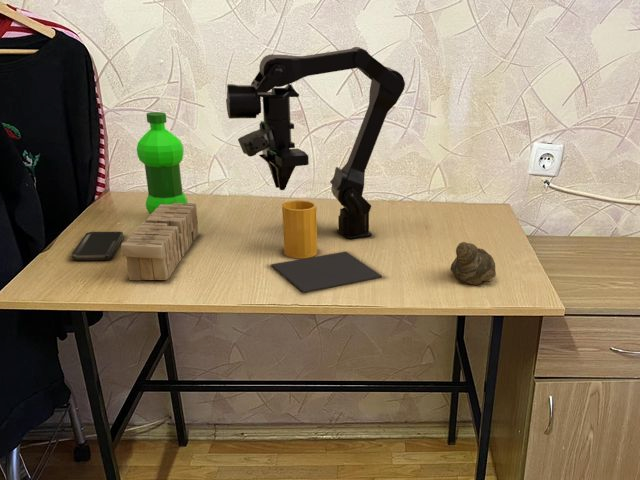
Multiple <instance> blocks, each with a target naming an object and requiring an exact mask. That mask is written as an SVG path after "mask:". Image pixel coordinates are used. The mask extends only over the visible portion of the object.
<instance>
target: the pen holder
mask: <svg viewBox="0 0 640 480" xmlns="http://www.w3.org/2000/svg"><path fill="white" fill-rule="evenodd" d="M281 209H282V213H281V214H282V232H283V233H282V234H283V235H282V236H283V253H284V255H285V256H286V257H288V258H291V259H306V258H312V257H316V255H318V219H317V218H318V217H317V216H318V215H317V204H316V203H315V202H313V201H310V200H302V199H301V200H300V199H296V200H295V199H294V200H288V201H285V202H284V203H282V204H281Z"/></svg>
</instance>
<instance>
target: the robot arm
mask: <svg viewBox="0 0 640 480" xmlns="http://www.w3.org/2000/svg"><path fill="white" fill-rule="evenodd" d="M353 69H358V70H359V71H360V72H361V73H362V74H363V75H365V76H366V77H367V78H368V79H369V80H371V81H370V86H369V98H368V106H367V109H366V111H365V115H364V116H363V120H362V122H361V124H360V127H359V130H358V132H357V135H356V138H355V140H354V143H353V146H352V148H351V151H350V154H349V157H348V160H347V162H346V163H345V164H344V166H343V167H342V168H340V167H338V166H336V167H335V169H334V174H333V177H332V178H331V180H330V181H329V183H330V184H331V187H330V188H331V193H332V196H333V197H334V198H335V199H336V200H337V201H338V202H339V204H340V205H341V206H342V207H343V208H340V209H339V215H338V219H337V220H338V223H337V224H338V229H336V232H337V233H339V234H340V235H342V236H343V237H344V238H346V239H348V240H353V239H359V238H366V237H372V236H373V233H372V232H371V231H370V211H371V209H372V204H370V203H369V202H368V200H367V199H366V198H365V197H364V196H363V192H364V188H365V176H366V175H365V174H366V169H367V167H368V164H369V161H370V159H371V157H372V154H373V152H374V148H375V146H376V144H377V141H378V138H379V136H380V133H381V131H382V128H383V125H384V123H385V120H386V117H387V115H388V113H389V112H390V111H391V109H392V108H393V107H394V106H395V105H396V104H397V103H398V101H399V99H400V97H401V96H402V94H403V92H404V90H405V87H406V81H405V78H404V76H403V75H402V73H400V72H399V71H397V70H396V69H393V68H391V67H387V66H385V65H383V63H381V62H380V61H379V60H377V59H376V58H375V57H373V56H372V55H371V54H370V53H369V52H368V50H366V49H365V48H363V47H360V46H354V47H352V48H347V49H341V50H334V51H328V52H327V51H326V52H320V53H314V54H308V55H289V54H267V55H265V56H263V58H262V59H261V60H260V63H259V71H258V72H257V74H256V75H255V77H254V78H253V80H252V82H251V83H250V85H249V84H248V85H247V84H245V85H243V84H239V85H238V84H233V83H228V84H227V85H226V99H225V105H226V111H227V117H228V119H257V116H260V114H261V113H262V114H263V120H261V121H260V123H259V129H257V130H253V131H251V132H249V133H247V134H244V135H243V136H241V137H238V138H237V141H238V143H239V146H240V147H241V151H242V153H243V154H245V155H246V156H248V157H254V156H257V154H258V153H260V152H262V154H258V156H259V157H260V158H261V159H262V160H263V161H265V162H266V163H267V166H268V168H269V171H270V174H271V178H272V180H273V183H274V187H275V188H277V189H278V190H280V191H285V190H286V188H287V187H288V183H289V181H290V179H291V176H292V175H293V172H294V171H295V168H296V167H302V166H309V165H310V162H309V161H310V160H309V154H307V153H306V151H303V150H302V149H300V148H296V143H295V142H293V141H292V130H295V123H293V122H292V121H291V98H299V97H300V93H299V92H297V90H295V88H294V87H293V85H292V84H294V83H296V82H298V81H300V80H302V79H303V78H306V77H309V76H317V75H322V74H329V73H335V72H340V71H341V72H342V71H349V70H353ZM261 98H262V99H261ZM261 100H262V101H261Z"/></svg>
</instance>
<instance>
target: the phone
mask: <svg viewBox="0 0 640 480" xmlns="http://www.w3.org/2000/svg"><path fill="white" fill-rule="evenodd" d="M124 239H125V235H124V232H123V231H88V232H86V233H85V234H84V236H83V237H82V239H81V240H80V241H79V242H78V244H77V246H76V247H75V248H74V250H73V251H72V253H71V257H72V260H73V261H81V262H83V261H110V260H112V259H113V258H114V256H115V254H116V252H117V251H118V249H119V247H120V246H121V244H122V243H123V240H124Z"/></svg>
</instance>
